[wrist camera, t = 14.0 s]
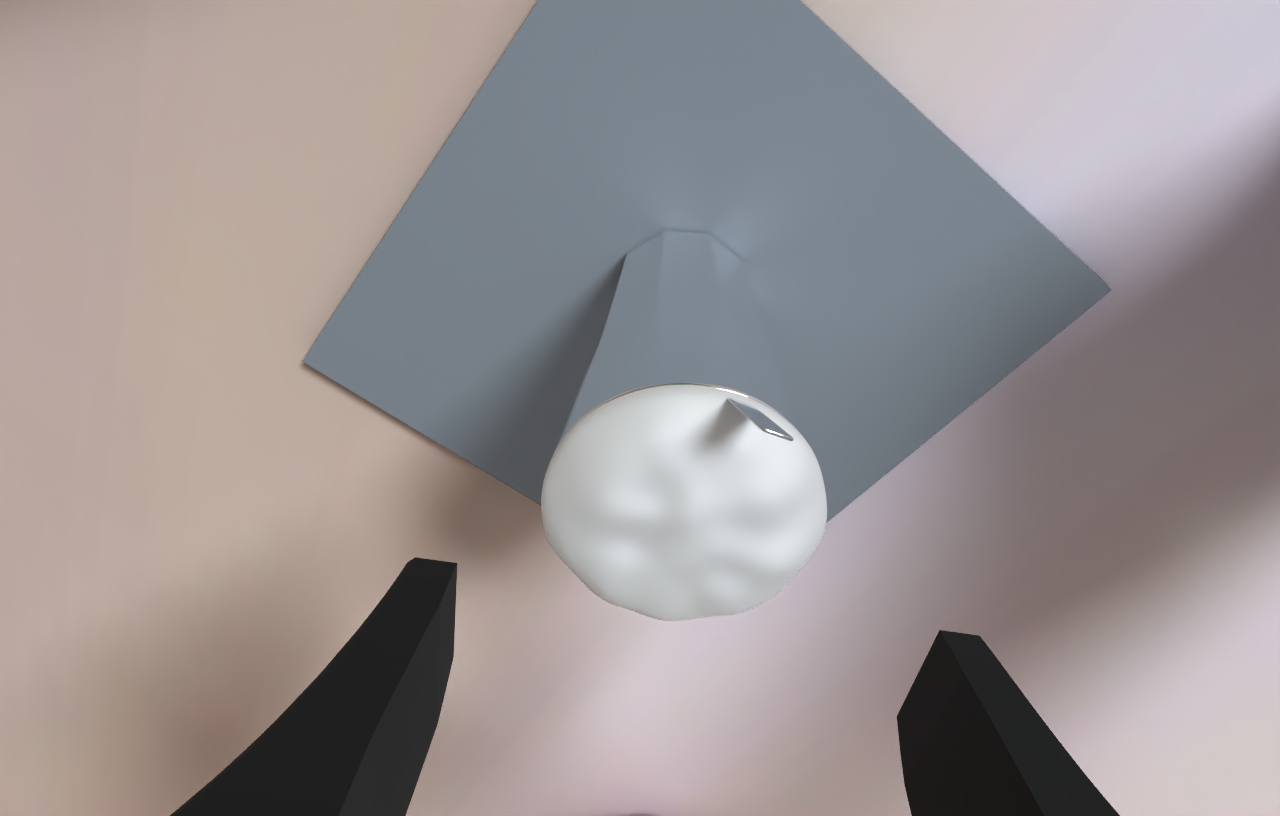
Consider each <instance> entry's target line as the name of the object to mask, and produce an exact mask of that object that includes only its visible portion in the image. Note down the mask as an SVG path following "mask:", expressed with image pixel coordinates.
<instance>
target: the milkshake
mask: <svg viewBox="0 0 1280 816" xmlns="http://www.w3.org/2000/svg"><path fill="white" fill-rule="evenodd" d="M541 514H542V522H543V527H544V531H545V534H546V537H547V540H548V542H549V544H550V546H551V547H552V549H553V550H554V552H555V553H556V554H557V555H558V557H559V558H560V559H561V560H562V561H563V562H564V563H565V564H566V565H567V566H568V567H569V568H570V569H571V570H572V571H573V573H574V574H575V575H576V576H577V577H578V578H579V579H580V580H581V581H582V582H583V583H584V584H585V585H586V586H587V587H588V588H589V589H590V590H591V591H592V592H593V593H595V594H596V595H597V596H598V597H600V598H601V599H603V600H605V601H607V602H608V603H611V604H613V605H616V606H620V607H623V608H626V609H629V610H632V611H635V612H638V613H641V614H643V615H646V616H649V617H652V618H655V619H659V620H666V621H681V620H689V619H695V618H702V617H711V616H725V615H733V614H738V613H741V612H744V611H746V610H749V609H751V608H754V607H756V606H758V605H760V604H761V603H763V602H765V601H767V600H768V599H770V598H771V597H773V596H774V595H776V594H777V593H778V592H779V591H781V590H782V589H783V588H784V587H785V586H786V585H787V584H788V583H789V582H790V581H791V580H792V579H793V578H794V577H795V575H796V574H797V573H798V572H799V571H800V570H801V568H802V567H803V566H804V565H805V564H806V562H807V561H808V560H809V559H810V558H811V556H812V555H813V553H814V552H815V550H816V548H817V547H818V545H819V543H820V541H821V539H822V537H823V534H824V530H825V526H826V521H827V500H826V492H825V486H824V481H823V477H822V473H821V469H820V466H819V463H818V461H817V458H816V456H815V454H814V451H813V449H812V446H811V444H810V441H809V439H808V436H807V434H806V431H805V429H804V427H803V424H802V422H801V419H800V417H799V414H798V412H797V409H796V407H795V404H794V402H793V399H792V397H791V394H790V392H789V390H788V387H787V385H786V382H785V380H784V377H783V375H782V372H781V370H780V367H779V365H778V362H777V360H776V357H775V354H774V351H773V348H772V345H771V342H770V339H769V336H768V334H767V331H766V328H765V325H764V322H763V319H762V316H761V313H760V310H759V307H758V304H757V301H756V298H755V295H754V292H753V289H752V286H751V283H750V280H749V277H748V274H747V271H746V268H745V265H744V263H743V260H742V259H740V258H739V257H738V256H737V255H735V254H734V253H733V252H732V251H730V250H729V249H728V248H727V247H726V246H724V245H723V244H722V243H721V242H719V241H718V240H717V239H716V238H715V237H713V236H712V235H711V234H710V233H697V232H682V231H669V230H665V231H663V232H661V233H660V234H658V235H656V236H655V237H653V238H651V239H650V240H648V241H646V242H645V243H643V244H641V245H639V246H638V247H636V248H634V249H633V250H631V251H629V252H628V253H627V255H626V258H625V260H624V263H623V265H622V268H621V270H620V273H619V275H618V277H617V280H616V282H615V285H614V287H613V289H612V292H611V295H610V298H609V301H608V304H607V307H606V311H605V314H604V317H603V320H602V323H601V326H600V330H599V333H598V336H597V339H596V342H595V345H594V349H593V352H592V355H591V358H590V361H589V364H588V367H587V371H586V373H585V375H584V377H583V379H582V382H581V384H580V386H579V388H578V391H577V393H576V396H575V398H574V401H573V403H572V406H571V409H570V411H569V414H568V416H567V419H566V422H565V424H564V427H563V429H562V432H561V435H560V437H559V440H558V442H557V445H556V448H555V450H554V453H553V455H552V458H551V461H550V463H549V466H548V469H547V471H546V474H545V478H544V482H543V487H542V495H541Z"/></svg>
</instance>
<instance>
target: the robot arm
mask: <svg viewBox="0 0 1280 816" xmlns="http://www.w3.org/2000/svg"><path fill="white" fill-rule="evenodd" d="M456 579H457V563H451V562H444V561H437V560H430V559H423V558H414V559H412V560H410V561H409V562H407V564H406V565H405V567H404V568H403V570H402V572H401V573H400V575H399V576H398V577H397V579H396V580H395V582H394V583H393V585H392V586H391V587H390V589H389V590H388V591H387V593H386V594H385V596H384V597H383V598H382V600H381V601H380V602H379V604H378V605H377V606H376V608H375V609H374V610H373V611H372V613H371V614H370V615H369V616H368V618H367V619H366V620H365V621H364V623H363V624H362V625H361V626H360V628H359V629H358V630H357V631H356V633H355V634H354V635H353V636H352V637H351V638H350V640H349V641H348V642H347V643H346V644H345V645H344V647H343V648H342V649H341V650H340V651H339V653H338V654H337V655H336V656H335V657H334V658H333V660H332V661H331V662H330V663H329V664H328V665H327V667H326V668H325V669H324V670H323V671H322V672H321V673H320V674H319V676H318V677H317V678H316V679H315V680H314V681H313V682H312V683H311V684H310V685H309V686H308V687H307V688H306V689H305V690H304V691H303V693H302V694H301V695H300V696H299V697H298V698H297V699H296V700H295V701H294V702H293V703H292V704H291V705H290V706H289V707H288V708H287V709H286V710H285V711H284V713H283V714H282V715H281V716H280V717H279V718H278V719H277V720H276V721H275V722H274V723H273V724H272V725H271V726H270V727H269V728H268V729H267V730H266V731H265V732H264V733H263V734H262V735H261V736H260V737H259V738H257V739H256V740H255V741H254V742H253V743H252V744H251V745H250V746H249V747H248V748H247V749H246V750H245V751H244V752H243V753H242V754H240V755H239V756H238V757H237V758H236V759H235V760H234V761H233V762H232V763H231V764H230V765H228V766H227V767H226V768H225V769H224V770H223V771H222V772H221V773H220V774H219V775H217V776H216V777H215V778H214V779H213V780H212V781H211V782H209V783H208V784H207V785H206V786H205V787H203V788H202V789H201V790H200V791H199V792H198V793H196V794H195V795H194V796H193V797H192V798H190V799H189V800H188V801H187V802H186V803H185V804H183V805H182V806H181V807H180V808H179V809H177V810H176V811H175V812H174V813H173V814H172V815H170V816H405V815H406V812H407V809H408V806H409V804H410V801H411V798H412V795H413V792H414V789H415V787H416V784H417V781H418V778H419V775H420V772H421V770H422V767H423V764H424V761H425V758H426V755H427V752H428V750H429V747H430V744H431V741H432V738H433V735H434V732H435V729H436V727H437V724H438V720H439V715H440V711H441V707H442V703H443V699H444V695H445V691H446V686H447V682H448V678H449V674H450V669H451V665H452V661H453V654H454V629H455V604H456ZM897 722H898V732H899V742H900V752H901V760H902V767H903V775H904V783H905V788H906V792H907V797H908V801H909V805H910V810H911V814H912V816H1120V815H1119V814H1118V813H1117V812H1116V811H1115V810H1114V808H1113V807H1112V806H1111V805H1110V804H1109V803H1108V801H1107V800H1106V799H1105V798H1104V797H1103V795H1102V794H1101V793H1100V792H1099V791H1098V789H1097V788H1096V787H1095V786H1094V785H1093V783H1092V782H1091V781H1090V780H1089V778H1088V777H1087V776H1086V775H1085V774H1084V772H1083V771H1082V770H1081V769H1080V767H1079V766H1078V765H1077V764H1076V762H1075V761H1074V760H1073V758H1072V757H1071V756H1070V755H1069V753H1068V752H1067V751H1066V750H1065V748H1064V747H1063V746H1062V744H1061V743H1060V742H1059V741H1058V739H1057V738H1056V737H1055V735H1054V734H1053V733H1052V731H1051V730H1050V729H1049V728H1048V726H1047V725H1046V724H1045V722H1044V721H1043V720H1042V718H1041V717H1040V716H1039V714H1038V713H1037V712H1036V710H1035V709H1034V708H1033V706H1032V705H1031V704H1030V702H1029V701H1028V700H1027V698H1026V697H1025V696H1024V694H1023V693H1022V692H1021V690H1020V689H1019V688H1018V686H1017V685H1016V684H1015V682H1014V681H1013V680H1012V678H1011V677H1010V675H1009V674H1008V673H1007V671H1006V670H1005V669H1004V667H1003V666H1002V665H1001V663H1000V662H999V661H998V659H997V658H996V657H995V655H994V654H993V653H992V651H991V650H990V649H989V647H988V646H987V645H986V643H985V642H984V641H983V640H982V638H981V637H980V636H978V635H970V634H963V633H956V632H949V631H942V630H940V631H939V633H938V635H937V637H936V639H935V641H934V643H933V645H932V647H931V649H930V651H929V653H928V655H927V657H926V659H925V661H924V663H923V665H922V667H921V669H920V671H919V673H918V675H917V677H916V679H915V681H914V683H913V685H912V687H911V689H910V691H909V693H908V695H907V697H906V699H905V701H904V703H903V705H902V707H901V709H900V711H899V713H898V715H897Z"/></svg>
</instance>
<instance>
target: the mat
mask: <svg viewBox="0 0 1280 816" xmlns="http://www.w3.org/2000/svg"><path fill="white" fill-rule="evenodd" d="M665 230H669V231H682V232H697V233H710V234H711V235H712V236H713V237H715V238H716V239H717V240H718V241H719V242H721V243H722V244H723V245H724V246H726V247H727V248H728V249H729V250H730V251H732V252H733V253H734V254H735V255H737V256H738V257H739V258H740V259H742V260H743V263H744V265H745V268H746V271H747V274H748V277H749V280H750V283H751V286H752V289H753V292H754V295H755V298H756V301H757V304H758V307H759V310H760V313H761V316H762V319H763V322H764V325H765V328H766V331H767V334H768V336H769V339H770V342H771V345H772V348H773V351H774V354H775V357H776V360H777V362H778V365H779V367H780V370H781V372H782V375H783V377H784V380H785V382H786V385H787V387H788V390H789V392H790V394H791V397H792V399H793V402H794V404H795V407H796V409H797V412H798V414H799V417H800V419H801V422H802V424H803V427H804V429H805V431H806V434H807V436H808V439H809V441H810V444H811V446H812V449H813V451H814V454H815V456H816V458H817V461H818V463H819V466H820V469H821V473H822V477H823V481H824V486H825V492H826V500H827V521H826V523H827V522H828V521H829V520H830V519H832V518H833V517H834V516H835V515H837V514H838V513H839V512H840V511H841V510H843V509H844V508H845V507H846V506H848V505H849V504H850V503H851V502H852V501H854V500H855V499H856V498H857V497H859V496H860V495H861V494H862V493H863V492H865V491H866V490H867V489H868V488H870V487H871V486H872V485H873V484H874V483H876V482H877V481H878V480H879V479H881V478H882V477H883V476H884V475H886V474H887V473H888V472H889V471H890V470H892V469H893V468H894V467H895V466H897V465H898V464H899V463H900V462H901V461H903V460H904V459H905V458H906V457H908V456H909V455H910V454H911V453H912V452H914V451H915V450H916V449H917V448H919V447H920V446H921V445H922V444H923V443H925V442H926V441H927V440H928V439H930V438H931V437H932V436H933V435H935V434H936V433H937V432H938V431H939V430H941V429H942V428H943V427H944V426H946V425H947V424H948V423H949V422H950V421H952V420H953V419H954V418H955V417H957V416H958V415H959V414H960V413H961V412H963V411H964V410H965V409H966V408H968V407H969V406H970V405H971V404H973V403H974V402H975V401H976V400H977V399H979V398H980V397H981V396H982V395H984V394H985V393H986V392H987V391H988V390H990V389H991V388H992V387H993V386H995V385H996V384H997V383H998V382H999V381H1001V380H1002V379H1003V378H1004V377H1006V376H1007V375H1008V374H1009V373H1010V372H1012V371H1013V370H1014V369H1015V368H1017V367H1018V366H1019V365H1020V364H1022V363H1023V362H1024V361H1025V360H1026V359H1028V358H1029V357H1030V356H1031V355H1033V354H1034V353H1035V352H1036V351H1037V350H1039V349H1040V348H1041V347H1042V346H1044V345H1045V344H1046V343H1047V342H1048V341H1050V340H1051V339H1052V338H1053V337H1055V336H1056V335H1057V334H1058V333H1059V332H1061V331H1062V330H1063V329H1064V328H1066V327H1067V326H1068V325H1069V324H1071V323H1072V322H1073V321H1074V320H1075V319H1077V318H1078V317H1079V316H1080V315H1082V314H1083V313H1084V312H1085V311H1086V310H1088V309H1089V308H1090V307H1091V306H1093V305H1094V304H1095V303H1096V302H1097V301H1099V300H1100V299H1101V298H1102V297H1104V296H1105V295H1106V294H1107V293H1108V292H1110V291H1111V289H1110V288H1109V287H1108V285H1107V284H1106V283H1105V282H1104V281H1103V280H1102V279H1100V278H1099V277H1098V276H1097V275H1096V274H1095V273H1094V272H1093V271H1092V270H1091V269H1090V268H1089V267H1087V266H1086V265H1085V264H1084V263H1083V262H1082V261H1081V260H1080V259H1079V258H1078V257H1077V256H1076V255H1075V254H1073V253H1072V252H1071V251H1070V250H1069V249H1068V248H1067V247H1066V246H1065V245H1064V244H1063V243H1062V242H1060V241H1059V240H1058V239H1057V238H1056V237H1055V236H1054V235H1053V234H1052V233H1051V232H1050V231H1049V230H1048V229H1046V228H1045V227H1044V226H1043V225H1042V224H1041V223H1040V222H1039V221H1038V220H1037V219H1036V218H1035V217H1033V216H1032V215H1031V214H1030V213H1029V212H1028V211H1027V210H1026V209H1025V208H1024V207H1023V206H1022V205H1021V204H1019V203H1018V202H1017V201H1016V200H1015V199H1014V198H1013V197H1012V196H1011V195H1010V194H1009V193H1008V192H1006V191H1005V190H1004V189H1003V188H1002V187H1001V186H1000V185H999V184H998V183H997V182H996V181H995V180H994V179H992V178H991V177H990V176H989V175H988V174H987V173H986V172H985V171H984V170H983V169H982V168H981V167H979V166H978V165H977V164H976V163H975V162H974V161H973V160H972V159H971V158H970V157H969V156H968V155H967V154H965V153H964V152H963V151H962V150H961V149H960V148H959V147H958V146H957V145H956V144H955V143H954V142H952V141H951V140H950V139H949V138H948V137H947V136H946V135H945V134H944V133H943V132H942V131H941V130H940V129H938V128H937V127H936V126H935V125H934V124H933V123H932V122H931V121H930V120H929V119H928V118H927V117H925V116H924V115H923V114H922V113H921V112H920V111H919V110H918V109H917V108H916V107H915V106H914V105H913V104H911V103H910V102H909V101H908V100H907V99H906V98H905V97H904V96H903V95H902V94H901V93H900V92H898V91H897V90H896V89H895V88H894V87H893V86H892V85H891V84H890V83H889V82H888V81H887V80H886V79H884V78H883V77H882V76H881V75H880V74H879V73H878V72H877V71H876V70H875V69H874V68H873V67H871V66H870V65H869V64H868V63H867V62H866V61H865V60H864V59H863V58H862V57H861V56H860V55H859V54H857V53H856V52H855V51H854V50H853V49H852V48H851V47H850V46H849V45H848V44H847V43H846V42H844V41H843V40H842V39H841V38H840V37H839V36H838V35H837V34H836V33H835V32H834V31H833V30H832V29H830V28H829V27H828V26H827V25H826V24H825V23H824V22H823V21H822V20H821V19H820V18H819V17H817V16H816V15H815V14H814V13H813V12H812V11H811V10H810V9H809V8H808V7H807V6H806V5H805V4H803V3H802V2H801V1H800V0H538V2H537V3H536V5H535V6H534V8H533V9H532V11H531V12H530V14H529V15H528V17H527V18H526V20H525V22H524V23H523V25H522V26H521V28H520V29H519V31H518V32H517V34H516V35H515V37H514V38H513V40H512V41H511V43H510V44H509V46H508V48H507V49H506V51H505V52H504V54H503V55H502V57H501V58H500V60H499V61H498V63H497V64H496V66H495V67H494V69H493V70H492V72H491V74H490V75H489V77H488V78H487V80H486V81H485V83H484V84H483V86H482V87H481V89H480V90H479V92H478V93H477V95H476V97H475V98H474V100H473V101H472V103H471V104H470V106H469V107H468V109H467V110H466V112H465V113H464V115H463V116H462V118H461V119H460V121H459V123H458V124H457V126H456V127H455V129H454V130H453V132H452V133H451V135H450V136H449V138H448V139H447V141H446V142H445V144H444V146H443V147H442V149H441V150H440V152H439V153H438V155H437V156H436V158H435V159H434V161H433V162H432V164H431V165H430V167H429V168H428V170H427V172H426V173H425V175H424V176H423V178H422V179H421V181H420V182H419V184H418V185H417V187H416V188H415V190H414V191H413V193H412V194H411V196H410V198H409V199H408V201H407V202H406V204H405V205H404V207H403V208H402V210H401V211H400V213H399V214H398V216H397V217H396V219H395V221H394V222H393V224H392V225H391V227H390V228H389V230H388V231H387V233H386V234H385V236H384V237H383V239H382V240H381V242H380V243H379V245H378V247H377V248H376V250H375V251H374V253H373V254H372V256H371V257H370V259H369V260H368V262H367V263H366V265H365V266H364V268H363V270H362V271H361V273H360V274H359V276H358V277H357V279H356V280H355V282H354V283H353V285H352V286H351V288H350V289H349V291H348V292H347V294H346V296H345V297H344V299H343V300H342V302H341V303H340V305H339V306H338V308H337V309H336V311H335V312H334V314H333V315H332V317H331V319H330V320H329V322H328V323H327V325H326V326H325V328H324V329H323V331H322V332H321V334H320V335H319V337H318V338H317V340H316V341H315V343H314V345H313V346H312V348H311V349H310V351H309V352H308V354H307V355H306V357H305V358H304V360H303V361H302V362H304V363H306V364H307V365H309V366H311V367H312V368H314V369H316V370H317V371H319V372H321V373H322V374H324V375H326V376H327V377H329V378H331V379H332V380H334V381H335V382H337V383H339V384H340V385H342V386H344V387H345V388H347V389H349V390H350V391H352V392H354V393H355V394H357V395H359V396H360V397H362V398H364V399H365V400H367V401H369V402H370V403H372V404H374V405H375V406H377V407H379V408H380V409H382V410H384V411H385V412H387V413H389V414H390V415H392V416H394V417H395V418H397V419H399V420H400V421H402V422H404V423H405V424H407V425H409V426H410V427H412V428H414V429H415V430H417V431H418V432H420V433H422V434H423V435H425V436H427V437H428V438H430V439H432V440H433V441H435V442H437V443H438V444H440V445H442V446H443V447H445V448H447V449H448V450H450V451H452V452H453V453H455V454H457V455H458V456H460V457H462V458H463V459H465V460H467V461H468V462H470V463H472V464H473V465H475V466H477V467H478V468H480V469H482V470H483V471H485V472H487V473H488V474H490V475H492V476H493V477H495V478H497V479H498V480H500V481H501V482H503V483H505V484H506V485H508V486H510V487H511V488H513V489H515V490H516V491H518V492H520V493H521V494H523V495H525V496H526V497H528V498H530V499H531V500H533V501H535V502H536V503H538V504H540V505H541V495H542V487H543V482H544V478H545V474H546V471H547V469H548V466H549V463H550V461H551V458H552V455H553V453H554V450H555V448H556V445H557V442H558V440H559V437H560V435H561V432H562V429H563V427H564V424H565V422H566V419H567V416H568V414H569V411H570V409H571V406H572V403H573V401H574V398H575V396H576V393H577V391H578V388H579V386H580V384H581V382H582V379H583V377H584V375H585V373H586V371H587V367H588V364H589V361H590V358H591V355H592V352H593V349H594V345H595V342H596V339H597V336H598V333H599V330H600V326H601V323H602V320H603V317H604V314H605V311H606V307H607V304H608V301H609V298H610V295H611V292H612V289H613V287H614V285H615V282H616V280H617V277H618V275H619V273H620V270H621V268H622V265H623V263H624V260H625V258H626V255H627V253H628V252H629V251H631V250H633V249H634V248H636V247H638V246H639V245H641V244H643V243H645V242H646V241H648V240H650V239H651V238H653V237H655V236H656V235H658V234H660V233H661V232H663V231H665Z"/></svg>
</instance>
